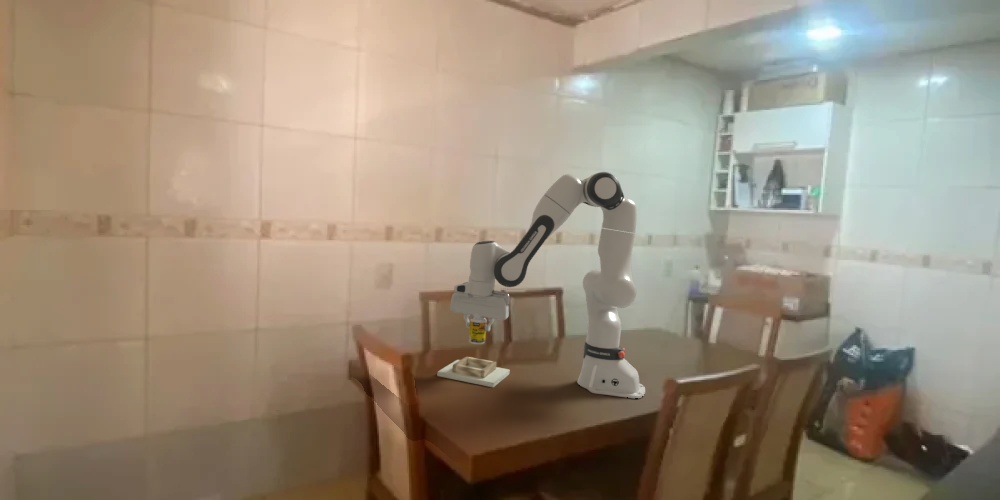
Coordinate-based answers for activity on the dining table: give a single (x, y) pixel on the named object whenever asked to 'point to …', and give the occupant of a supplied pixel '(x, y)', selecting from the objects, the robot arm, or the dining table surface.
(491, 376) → the holder
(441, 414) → the dining table surface
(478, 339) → the supplement bottle
